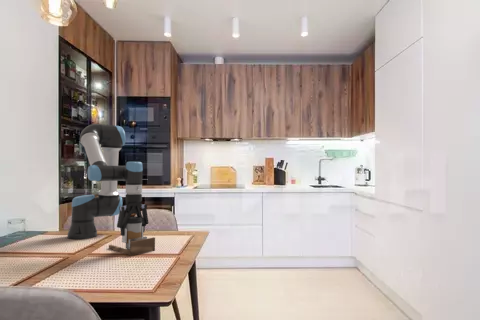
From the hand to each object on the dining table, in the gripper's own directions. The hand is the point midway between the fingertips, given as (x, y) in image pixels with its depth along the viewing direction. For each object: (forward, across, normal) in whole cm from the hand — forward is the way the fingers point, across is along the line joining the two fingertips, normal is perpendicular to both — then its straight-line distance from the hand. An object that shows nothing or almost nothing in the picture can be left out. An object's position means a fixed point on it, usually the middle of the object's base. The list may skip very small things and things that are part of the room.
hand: (132, 240), depth 154 cm
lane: (+4, 0, +1) cm, 4 cm away
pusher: (+4, 0, -6) cm, 7 cm away
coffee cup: (+4, 0, 0) cm, 4 cm away
